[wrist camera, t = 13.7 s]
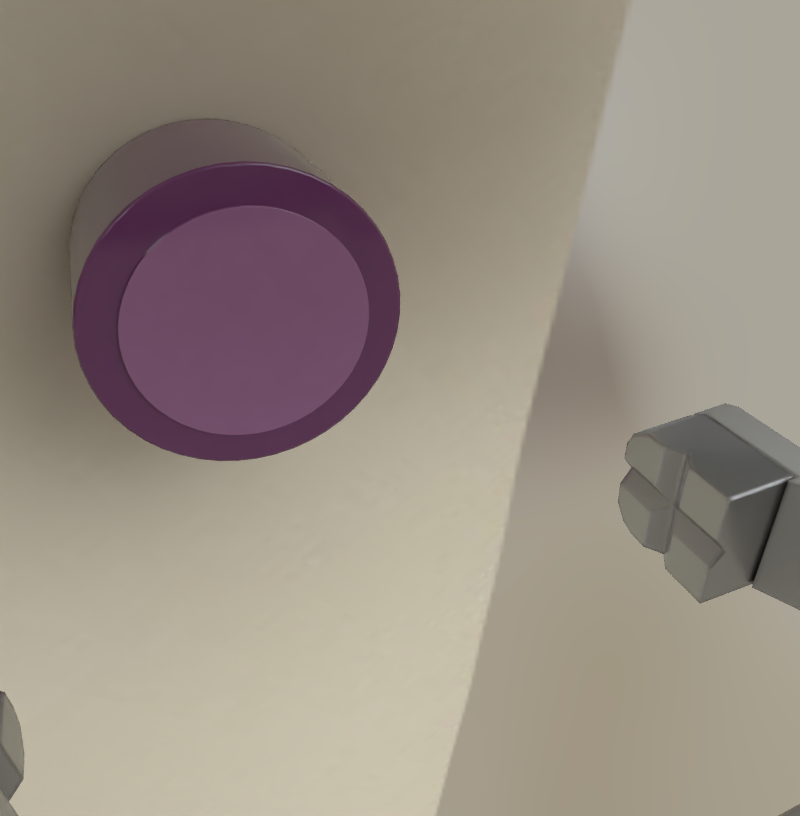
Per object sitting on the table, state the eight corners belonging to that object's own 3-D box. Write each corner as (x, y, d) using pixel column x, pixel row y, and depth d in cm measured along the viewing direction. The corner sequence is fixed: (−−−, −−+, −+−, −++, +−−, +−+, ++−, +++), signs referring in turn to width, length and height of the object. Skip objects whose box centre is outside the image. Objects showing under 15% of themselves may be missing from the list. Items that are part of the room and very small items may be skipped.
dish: (25, 141, 13) (16, 196, 10) (329, 100, 15) (394, 137, 12) (115, 403, 16) (128, 499, 14) (354, 345, 18) (408, 420, 15)
